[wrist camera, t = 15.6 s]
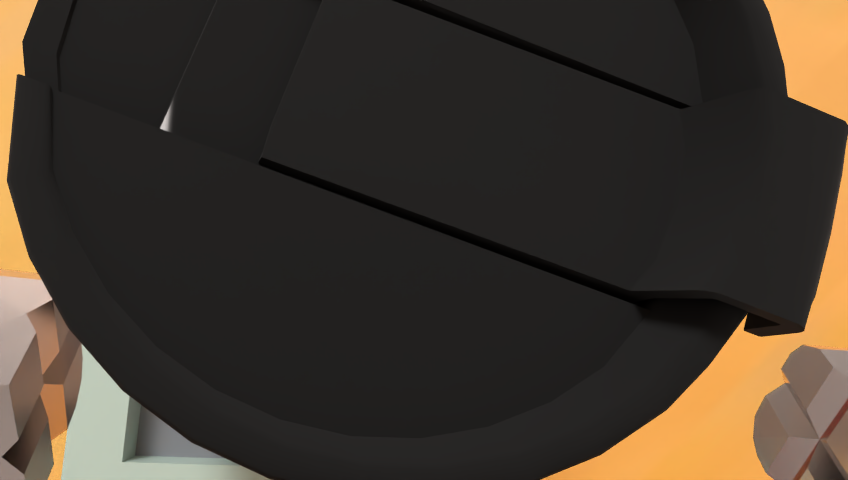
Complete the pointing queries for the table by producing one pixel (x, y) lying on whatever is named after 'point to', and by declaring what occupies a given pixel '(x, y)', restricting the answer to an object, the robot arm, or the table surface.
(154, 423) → the pale green square tray
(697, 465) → the table surface
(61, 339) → the robot arm
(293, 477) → the travel mug
